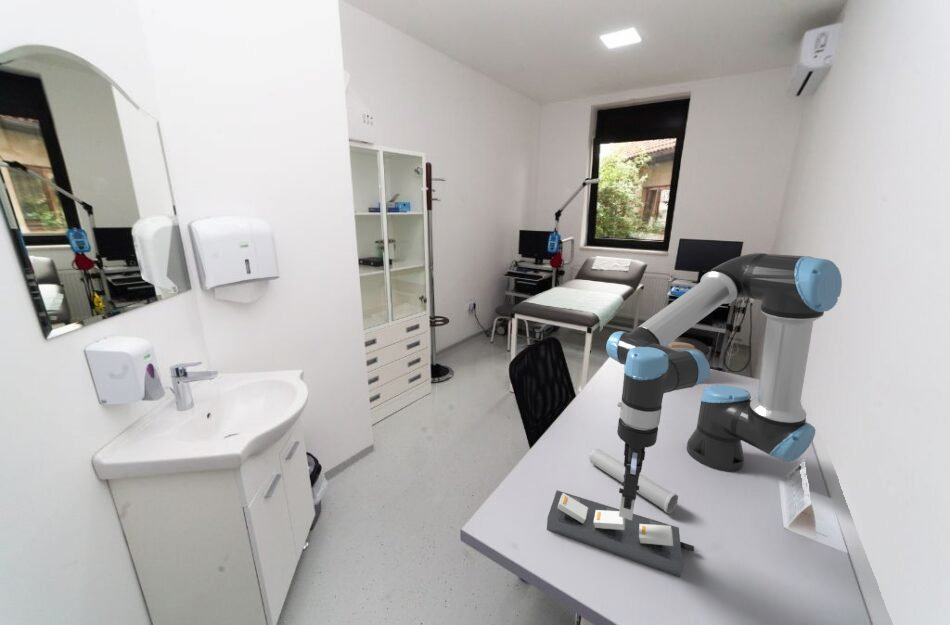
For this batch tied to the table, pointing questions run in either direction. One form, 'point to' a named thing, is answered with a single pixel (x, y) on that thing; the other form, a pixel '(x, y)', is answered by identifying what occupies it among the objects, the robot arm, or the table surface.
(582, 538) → the power strip
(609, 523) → the block
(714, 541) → the table surface
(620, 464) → the tube
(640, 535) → the block
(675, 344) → the alarm clock
